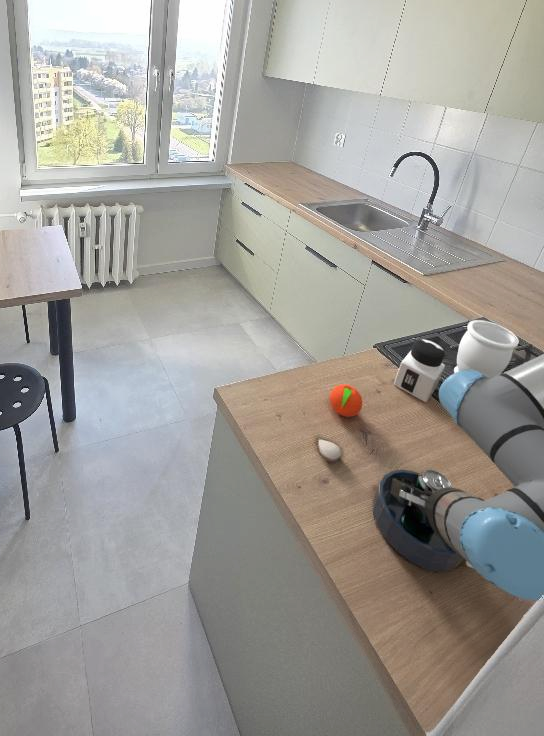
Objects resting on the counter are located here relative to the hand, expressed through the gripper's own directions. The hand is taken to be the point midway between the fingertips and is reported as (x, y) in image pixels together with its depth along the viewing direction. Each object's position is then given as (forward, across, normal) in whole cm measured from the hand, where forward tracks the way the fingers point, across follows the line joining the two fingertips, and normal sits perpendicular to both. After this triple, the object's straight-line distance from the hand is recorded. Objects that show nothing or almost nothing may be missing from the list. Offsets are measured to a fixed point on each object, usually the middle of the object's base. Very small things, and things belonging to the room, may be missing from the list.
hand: (420, 494), depth 76 cm
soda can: (0, 0, -5) cm, 5 cm away
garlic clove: (+6, -16, 0) cm, 17 cm away
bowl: (0, 0, -6) cm, 6 cm away
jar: (+36, +16, +30) cm, 49 cm away
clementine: (+15, -14, +9) cm, 23 cm away
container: (+28, +2, +22) cm, 36 cm away
